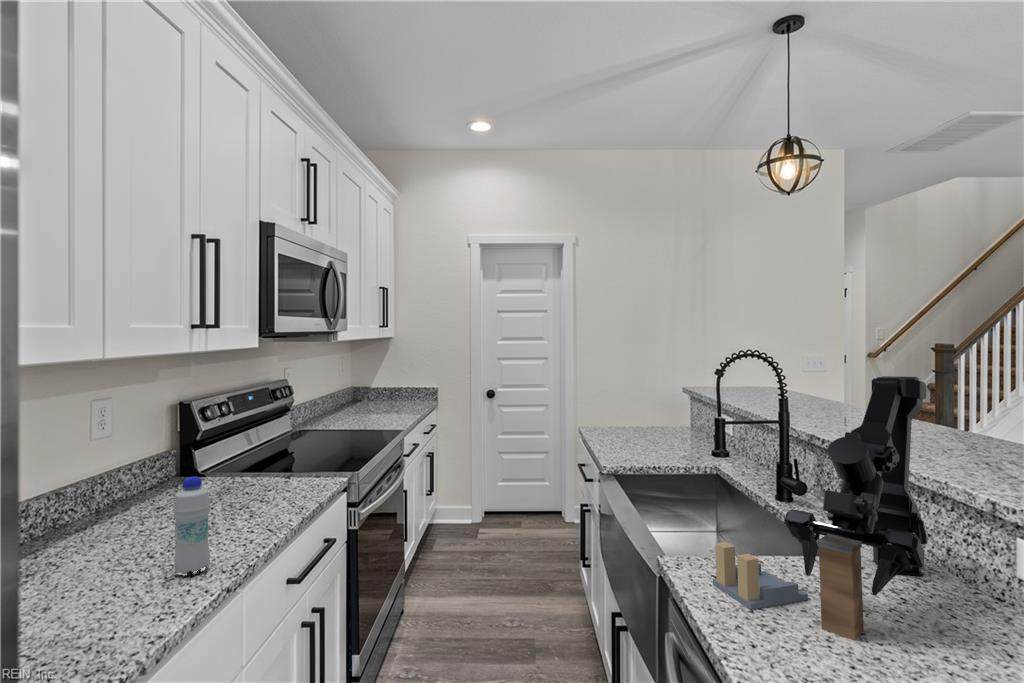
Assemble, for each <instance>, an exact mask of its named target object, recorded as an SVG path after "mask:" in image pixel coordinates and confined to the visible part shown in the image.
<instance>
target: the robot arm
mask: <svg viewBox="0 0 1024 683" xmlns="http://www.w3.org/2000/svg"><path fill="white" fill-rule="evenodd" d="M926 398H927V384H926V382H925V381H922V380H920V379H919V377H918V376H897V375H896V376H895V375H893V376H892V375H891V376H886V375H884V376H877V377H874V378H873V379H871V394H870V398H869V401H868V404H867V407H866V411H865V414H864V416H863V420H862V423H861V425H860V426H858V427H856V428H854V429H853V430H851V431H850V432H848V431H846V432H845V434H844V436H842V437H838V438H836V439H834V440H833V441H832V442H830V444H828V446H827V454H828V457H829V460H830V461H831V463H832V465H833V468H834V470H835V472H836V475H837V477H838V478H839V479H840V480H842V482H841V486H840V490H839V491H834V490H825V491H824V499H823V506H822V509H823V511H826V512H827V514H826V517H827V519H828V521H830V522H831V524H827V523H823V522H819V521H817V519H816V517H815V515H814V512H808V511H803V510H799V509H794V508H793V509H790V510H788V511H787V512H786V514H785V517H784V518H783V522H784V523H785V525H786V526H787V528H788V530H789V531H790V534H791V535H792V537H793V538H795V539H797V541H798V542H799V543H800V544H801V547H802V548H801V549H802V557H803V564H804V572H805V575H806V576H807V577H810V576H811V574H812V572H813V570H814V567H815V566H814V565H815V562H816V557H817V553H818V552H819V546H817V541H818V540H820V535H821V536H823V537H824V536H825V535H827V534H831V535H836V536H840V537H845V538H849V539H854V540H858V541H862V545H864V546H865V545H866V546H869V547H872V555H873V558H872V559H873V560H872V561H873V562H874V563H875V564H876V565H877V568H876V570H875V571H876V572H875V574H874V576H873V580H872V586H871V594H872V595H873V596H877V595H878V594H879V593H880V592H881V591H882V590H883V589H884V588H885V586H886V585H888V583H889V582H891V580H892V579H893V578H895V577H896V576H897V575H907V576H918V577H924V573H923V572H922V571H921V570H920V568H924V564H925V555H926V554H925V550H924V548H923V545H927V544H928V536H927V530H926V527H925V522H924V520H922V517H921V514H920V513H919V511H918V510H919V509H918V508H919V507H918V505H917V503H916V501H915V499H914V497H912V495H911V494H910V491H909V481H910V461H911V459H910V458H911V444H912V443H911V442H912V438H911V437H912V422H913V419H915V417H916V416H917V415H918V414H919V413H920V412H921V411H922V409H923V400H926ZM878 472H880V473H881V475H880V474H879V473H878Z"/></svg>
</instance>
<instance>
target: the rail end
mask: <svg viewBox="0 0 1024 683" xmlns="http://www.w3.org/2000/svg"><path fill="white" fill-rule="evenodd" d="M816 542H817V546H819V547H818V558H819V561H818V563H819V565H818V566H819V590H820V592H819V593H820V618H821V630H824V631H826V630H827V631H826V632H829V631H830V632H829V633H832V634H834V633H835V635H837V634H838V636H840V635H841V636H840V637H843V638H847V639H849V640H851V641H854V640H855V641H856V640H857V638H858V637H859V636H860V635H861V633H862V632H863V631H864V628H865V627H864V605H863V602H864V601H863V581H862V580H863V578H862V577H863V576H862V575H863V574H862V552H861V551H862V550H861V549H862V547H863V544H862V541H858V540H854V539H849V538H845V537H840V536H836V535H831V534H827V535H825V536H824V535H823V536H822V537H821V538H819V540H817V541H816ZM859 634H860V635H859Z"/></svg>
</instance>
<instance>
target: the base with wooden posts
mask: <svg viewBox="0 0 1024 683" xmlns="http://www.w3.org/2000/svg"><path fill="white" fill-rule="evenodd" d="M736 561H737V562H736ZM715 574H716V575H715V576H716V578H712V585H713V586H715V587H716V588H717V589H719V590H720V591H722V592H723V593H725V594H726V595H728V596H729V597H731V598H732V599H734V600H735V601H737V602H738V603H740V604H742V605H743V606H744V607H745V608H747V609H749V610H751V611H752V610H757V609H758V610H759V609H764V608H768V607H775V606H781V605H786V604H787V605H788V604H791V603H792V602H793V603H797V601H798V602H803V601H802V600H804V601H808V600H809V594H808V593H807V592H805V591H803V590H802V589H799V583H797V582H795V581H785V580H783V579H781V578H779V577H778V576H775V575H774V574H772V573H770V572H768V571H766V570H764V571H763V570H762V564H761V563H760V562H759V558H758V557H755V556H753V555H752V554H751V553H744V554H743V553H742V554H737V555H736V546H735V545H733V544H731V543H729V542H727V541H724V542H717V543H715Z"/></svg>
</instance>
